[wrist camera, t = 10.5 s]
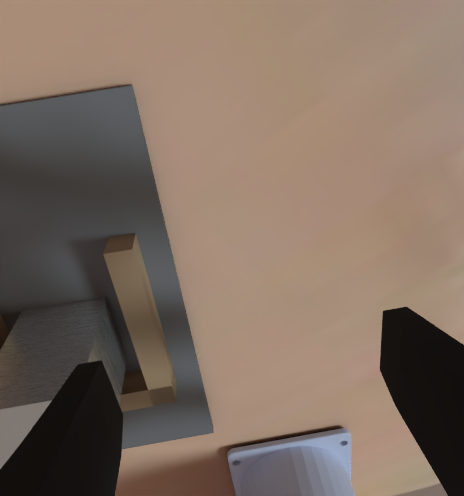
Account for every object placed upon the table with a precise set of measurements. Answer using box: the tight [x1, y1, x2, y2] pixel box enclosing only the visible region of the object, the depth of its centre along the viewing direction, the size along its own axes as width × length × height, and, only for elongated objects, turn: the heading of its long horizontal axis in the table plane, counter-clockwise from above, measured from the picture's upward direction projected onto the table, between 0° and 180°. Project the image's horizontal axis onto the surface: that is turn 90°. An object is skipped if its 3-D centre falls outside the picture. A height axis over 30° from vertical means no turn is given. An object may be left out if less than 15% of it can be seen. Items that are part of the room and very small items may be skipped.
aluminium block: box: [0, 297, 127, 469], centre depth 18 cm, size 4×4×6 cm
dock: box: [0, 84, 214, 449], centre depth 20 cm, size 20×11×2 cm, turn 8°
